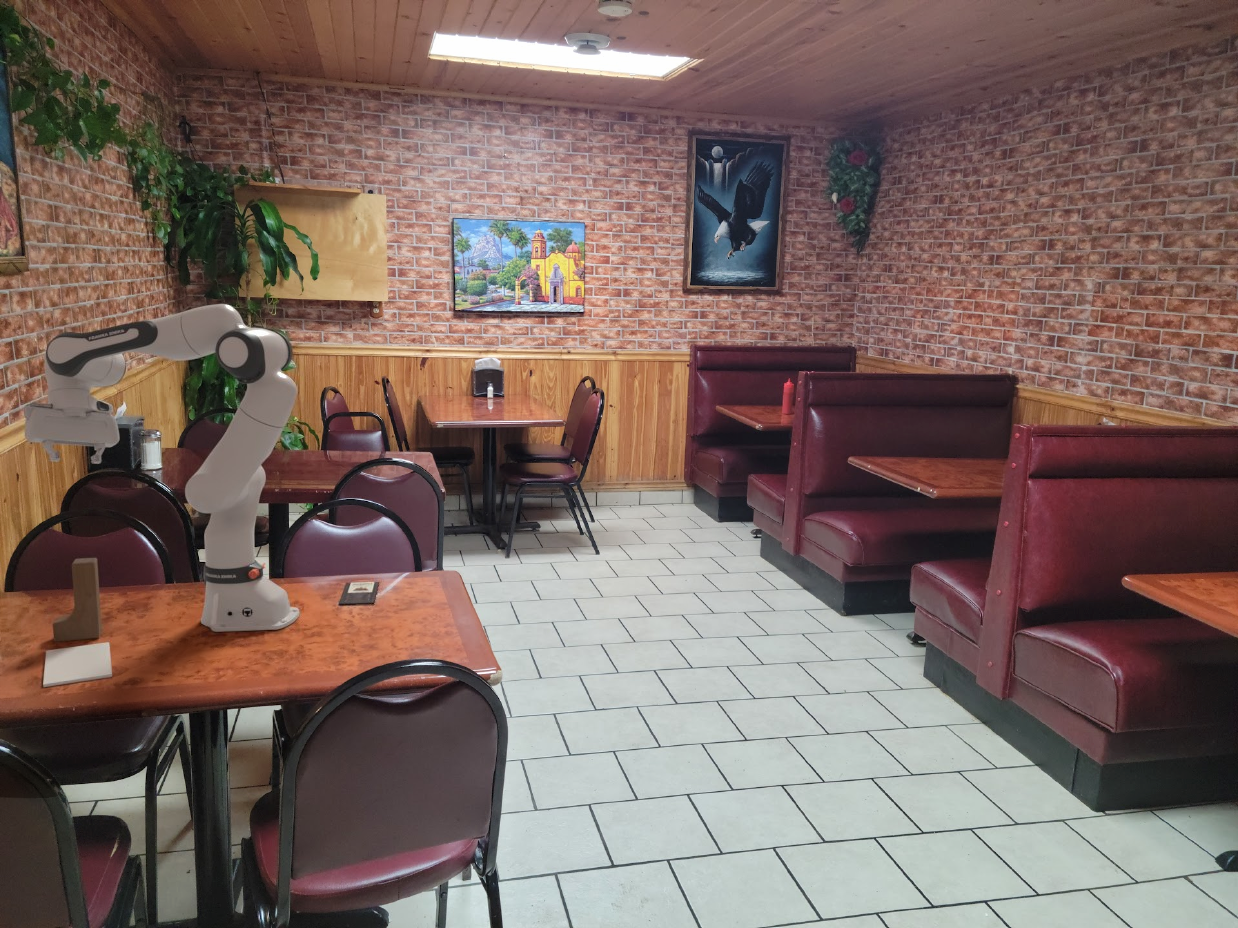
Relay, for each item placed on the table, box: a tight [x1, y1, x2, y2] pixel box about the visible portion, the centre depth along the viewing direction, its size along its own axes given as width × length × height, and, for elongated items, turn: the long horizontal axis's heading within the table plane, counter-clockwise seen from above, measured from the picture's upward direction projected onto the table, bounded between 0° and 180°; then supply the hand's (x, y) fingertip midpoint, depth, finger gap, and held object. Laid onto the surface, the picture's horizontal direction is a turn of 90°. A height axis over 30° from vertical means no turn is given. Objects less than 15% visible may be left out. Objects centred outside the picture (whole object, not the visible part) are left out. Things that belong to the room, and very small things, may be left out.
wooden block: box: [52, 557, 103, 643], centre depth 207 cm, size 9×4×18 cm, turn 111°
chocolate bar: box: [338, 581, 381, 606], centre depth 246 cm, size 9×1×18 cm
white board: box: [42, 641, 113, 688], centre depth 193 cm, size 20×12×1 cm, turn 30°
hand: (76, 462), depth 214 cm, fingers open, 8 cm apart
